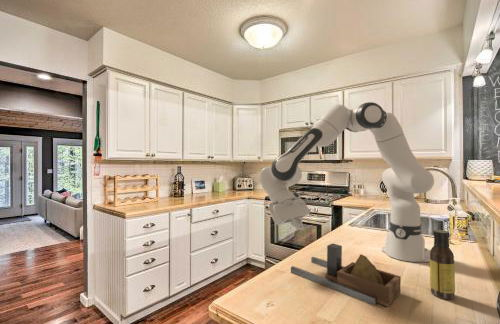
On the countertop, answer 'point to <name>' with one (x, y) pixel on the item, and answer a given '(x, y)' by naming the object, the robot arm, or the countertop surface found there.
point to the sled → (344, 277)
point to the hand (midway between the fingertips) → (301, 228)
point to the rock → (366, 270)
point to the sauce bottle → (442, 266)
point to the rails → (332, 284)
